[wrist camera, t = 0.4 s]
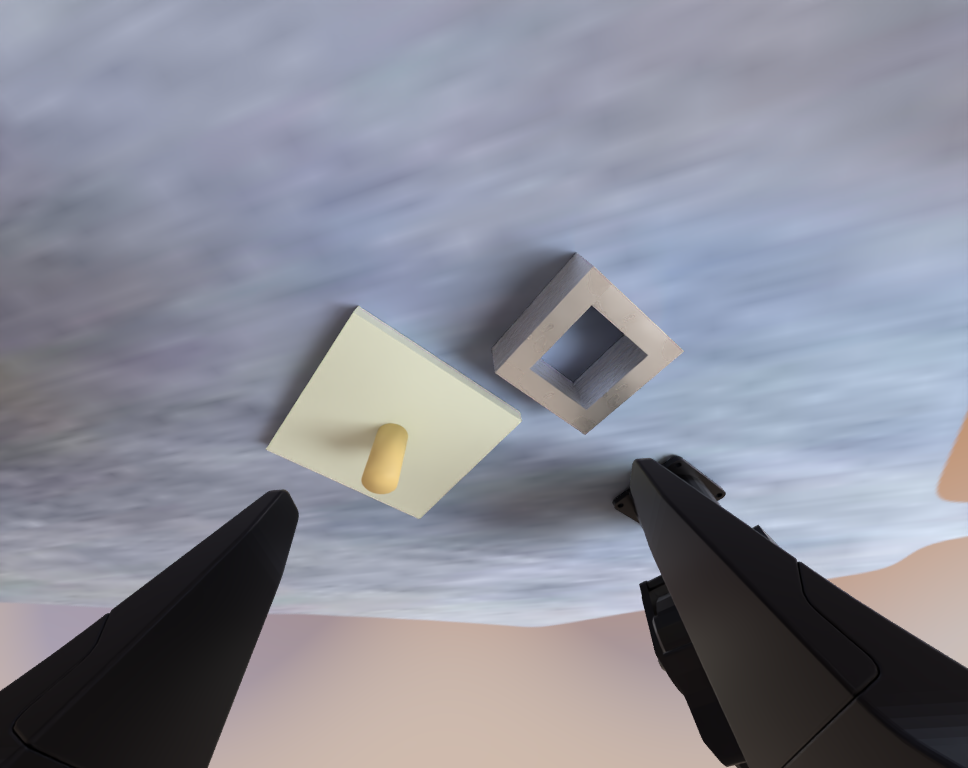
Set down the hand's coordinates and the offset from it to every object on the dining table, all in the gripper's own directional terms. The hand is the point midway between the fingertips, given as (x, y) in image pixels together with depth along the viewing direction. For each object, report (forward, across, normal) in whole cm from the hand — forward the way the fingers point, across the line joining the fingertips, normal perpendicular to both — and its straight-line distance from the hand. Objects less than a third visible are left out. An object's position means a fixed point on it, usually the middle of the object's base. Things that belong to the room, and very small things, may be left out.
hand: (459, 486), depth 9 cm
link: (+13, -6, +2) cm, 14 cm away
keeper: (+13, +6, +7) cm, 16 cm away
